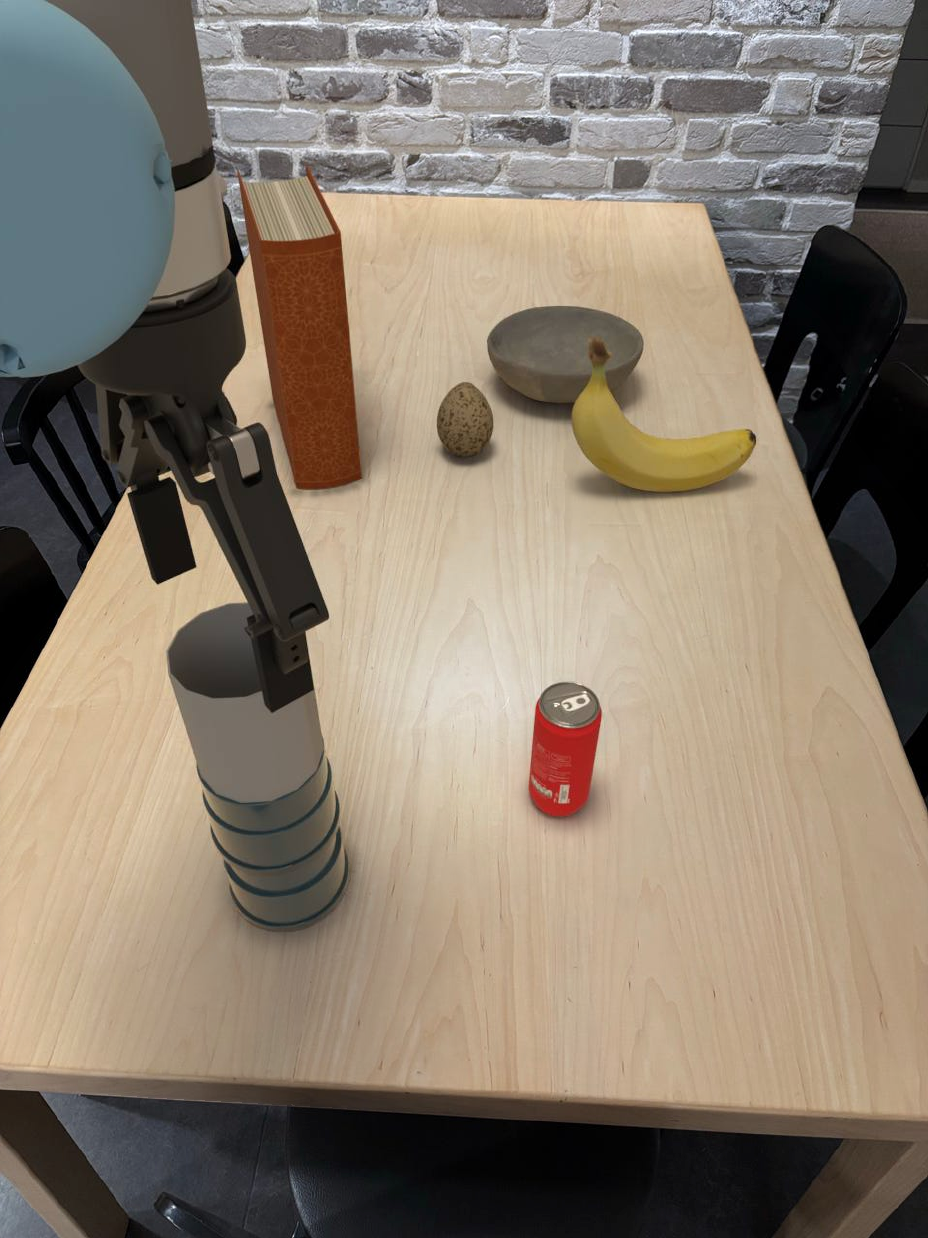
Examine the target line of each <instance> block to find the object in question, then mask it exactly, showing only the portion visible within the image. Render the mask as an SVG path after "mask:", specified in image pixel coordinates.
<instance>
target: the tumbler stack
mask: <svg viewBox="0 0 928 1238" xmlns="http://www.w3.org/2000/svg"><path fill="white" fill-rule="evenodd" d="M322 739H323V745H324V750H323V753H322V756H321V759H320V762H319V765H318V768H317V771H316V772H315V773H314V774H313V775H312V776H311V777H310V778H309V779H308V780H307V781H306V782H305V783H304V784H303V785H302V786H301V787H300V788H299V789H298V790H295V791H293V792H291V793H288V794H286V795H284V796H282V797H279V798H277V799H275V800H272V801H267V802H250V803H240V802H237V801H234V800H231V799H229V798H226V797H223V796H220V795H217V794H216V793H215V792H214V791H213V790H212V789H211V787H210V786H209V785H208V784H207V783H206V782H205V781H204V779H203V778H202V777H201V775H200V772H199V768H198V765H197V762H196V761H195V763H196V764H195V765H196V766H195V767H196V773H197V777H198V779H199V782H200V785H201V788H202V789H201V791H202V801H203V805H204V808H205V811H206V814H207V817H208V820H209V826H210V827H209V828H210V829H209V830H210V834H211V839H212V842H213V844H214V847H215V850H216V851H217V853H218V854H219V856H220V857H221V858H222V862H223V865H224V868H225V872H226V876H227V879H228V888H229V892H230V896H231V899H232V902H233V904H234V906H235V908H236V910H237V911H238V913H239V914H240V915H241V916H242V917H243V919H245V920H246V921H247V922H248V923H250V924H251V925H253V926H255V927H257V928H260V929H262V930H265V931H268V932H269V931H270V932H276V933H289V932H296V931H299V930H304V929H306V928H309V927H311V926H314V925H315V924H317V923H319V922H320V921H322V920H324V919H325V918H326V917H327V916H329V915H330V914H331V913H332V912H333V911H334V910H335V909H336V907H338V905H339V904H340V902H341V901H342V899H343V897H344V895H345V894H346V892H347V888H348V885H349V881H350V865H349V864H350V863H349V858H348V854H347V851H346V849H345V847H344V842H343V836H342V830H341V827H340V823H341V805H340V800H339V795H338V793H337V791H336V789H335V783H334V777H333V771H332V767H331V763H330V761H329V758H328V756H327V751H326V747H325V740H324V736H323V735H322Z"/></svg>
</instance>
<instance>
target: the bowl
mask: <svg viewBox="0 0 928 1238" xmlns="http://www.w3.org/2000/svg"><path fill="white" fill-rule="evenodd" d="M593 337H594V338H595V337H596V338H602V339H603V340H604V343H605V347H606V349H608V350H609V351H610V353H611V354H612V357H611V358H609V359H608V360H607V362H606V365H605V377H606V382H607V386H608V389H609V390H610V392H611V393H612V392H613V391H614V390H616V389H618V388H619V387H620V386H621V385H623V384H624V383H625V381H626V380H627V379H628V378H629V377H630V376H631V374H632V373H633V371H634V370H635V368H636V367H637V365H638V364H639V361H640V359H641V357H642V355H643V353H644V352H643V351H644V338H643V335H642V333H641V332H640V330H639V329H638V328H637V327H636V326H634V325H633V324H632V323H630V322H629V321H627V320H625V319H624V318H622V317H620V316H617V315H615V314H613V313H610V312H607V311H604V310H599V309H594V308H590V307H583V306H575V305H574V306H573V305H545V306H535V307H531V308H527V309H523V310H521V311H517V312H514V313H512V314H510V315H508V316H506V317H505V318H503V319H502V320H500V321H499V322H498V323H497V324H496V325H495V326H493V328H492V329H491V331H490V332H489V334H488V336H487V338H486V344H487V347H486V348H487V355H488V359H489V361H490V363H491V365H492V368H493V369H494V371H495V373H497V375H498V376H499V377H500V378H501V380H502V381H504V382H505V383H506V384H507V385H508V386H509V387H511V388H512V389H513V390H514V391H517V392H519V393H520V394H522V395H523V396H525V397H527V398H529V399H530V400H531V399H532V400H534V401H538V402H546V403H550V404H551V403H552V404H575V402H576V400H577V399H578V397H579V396H580V394H581V393H582V392H583V390H584V389H585V388H586V386H587V385H588V383H589V381H590V379H591V376H592V372H593V366H592V363H591V361H590V359H589V358H588V354H589V350H588V340H589V339H591V338H593Z"/></svg>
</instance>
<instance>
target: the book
mask: <svg viewBox="0 0 928 1238" xmlns="http://www.w3.org/2000/svg"><path fill="white" fill-rule="evenodd" d="M236 172H237V178H238V179H237V180H238V185H239V191H240V197H241V204H242V210H243V211H242V212H243V218H244V223H245V224H244V225H245V229H246V237H247V242H248V248H249V249H248V250H249V256H250V262H251V268H252V276H253V282H254V287H255V293H256V300H257V307H258V313H259V321H260V326H261V332H262V339H263V346H264V351H265V358H266V365H267V371H268V379H269V384H270V389H271V396H272V402H273V405H274V410H275V413H276V417H277V421H278V424H279V428H280V433H281V436H282V439H283V444H284V447H285V451H286V455H287V459H288V462H289V466H290V470H291V474H292V478H293V480H294V485H295V488H296V489H301V490H326V489H332V488H333V489H334V488H338V487H342V486H346V485H348V484H351V483H354V482H357V481H359V480H360V479H363V473H362V462H361V451H360V450H361V449H360V442H359V441H360V439H359V427H358V426H359V425H358V416H357V404H356V393H355V380H354V369H353V357H352V346H351V336H350V335H351V334H350V324H349V323H350V322H349V311H348V299H347V290H346V289H347V287H346V278H345V277H346V275H345V265H344V254H343V241H342V232H341V229H340V227H339V226H338V223H337V222H336V219H335V217H334V215H333V213H332V212H331V210H330V208H329V205H328V203H327V201H326V200H325V197H324V195H323V193H322V191H321V189H320V187H319V186H318V185H319V184H318V183H317V181H316V179H315V178H314V175H313V173H312V171H311V169H310V168H309V165H308V164H305V173H306V174H305V176H301V177H298V178H293V179H286V180H279V181H278V180H275V181H274V180H273V181H267V182H264V181H263V182H253V181H252V182H251V181H250V182H249V181H243V179H242V175H241V173H240V170H236Z"/></svg>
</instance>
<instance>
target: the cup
mask: <svg viewBox="0 0 928 1238" xmlns="http://www.w3.org/2000/svg"><path fill="white" fill-rule="evenodd" d="M251 615H253V612H252V610H251V608H250V606H249V604H248V602H247V601H246V602H245V601H244V602H228V603H225V604H222V605H219V606H216V607H213V608H210V609H208V610H205V611H202V612H200V613H198V614H197V615H196V616H194V617H193V618H192V619H190V620H189V621H188V622H186V623H184V625H183V626H181V627H180V628H179V629H178V630H176V632H175V634H174V636H173V638H172V640H171V642H170V643H169V646H168V647H167V649H166V651H165V655H166V665H167V674H168V678H169V681H170V684H171V687H172V690H173V693H174V696H175V700H176V702H177V706H178V709H179V712H180V716H181V717H182V721H183V724H184V728H185V730H186V734H187V737H188V740H189V743H190V746H191V749H192V753H193V756H194V759H195V763H196V762H197V765H198V768H199V772H200V775H201V777H202V778H203V779H204V781H205V782H206V783H207V784H208V785H209V786H210V787H211V789H212V790H213V791H214V792H215V793H216V794H217V795H220V796H223V797H226V798H229V799H231V800H234V801H237V802H240V803H250V802H267V801H272V800H275V799H277V798H279V797H282V796H284V795H286V794H288V793H291V792H293V791H295V790H298V789H299V788H300V787H301V786H302V785H303V784H304V783H305V782H306V781H307V780H308V779H309V778H310V777H311V776H312V775H313V774H314V773H315V772H316V771H317V768H318V765H319V762H320V759H321V756H322V753H323V750H324V745H325V744H324V745H323V739H324V738H323V739H322V736H323V733H322V727H321V720H320V714H319V709H318V702H317V701H318V700H317V696H316V695H317V694H316V689H315V688H314V690H313V691H311V692H309V693H307V694H306V695H304V696H302V697H300V698H298V699H297V700H295V701H293V702H291V703H289V704H288V705H286V706H284V707H282V708H280V709H279V710H277V711H275V712H273V713H271V712H270V710H269V709H268V708H267V707H266V706H265V704H264V699H263V694H262V690H261V685H260V680H259V675H258V671H257V666H256V661H255V656H254V652H253V647H252V642H251V638H250V637H249V636H248V634H247V633H246V631H245V630H244V628H245V627H247V626H248V623H247V617H249V616H251ZM310 665H311V663H310ZM311 666H312V665H311ZM311 671H312V669H311ZM312 672H313V671H312ZM312 678H313V679H314V676H312ZM313 685H314V686H315V684H314V682H313Z"/></svg>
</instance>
